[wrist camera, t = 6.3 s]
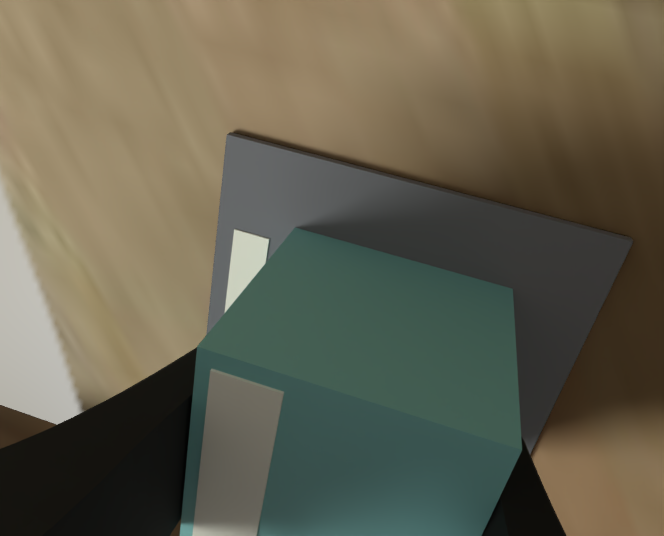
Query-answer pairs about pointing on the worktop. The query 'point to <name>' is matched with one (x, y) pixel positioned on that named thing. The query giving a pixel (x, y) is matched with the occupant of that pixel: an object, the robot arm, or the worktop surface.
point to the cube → (353, 400)
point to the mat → (423, 248)
